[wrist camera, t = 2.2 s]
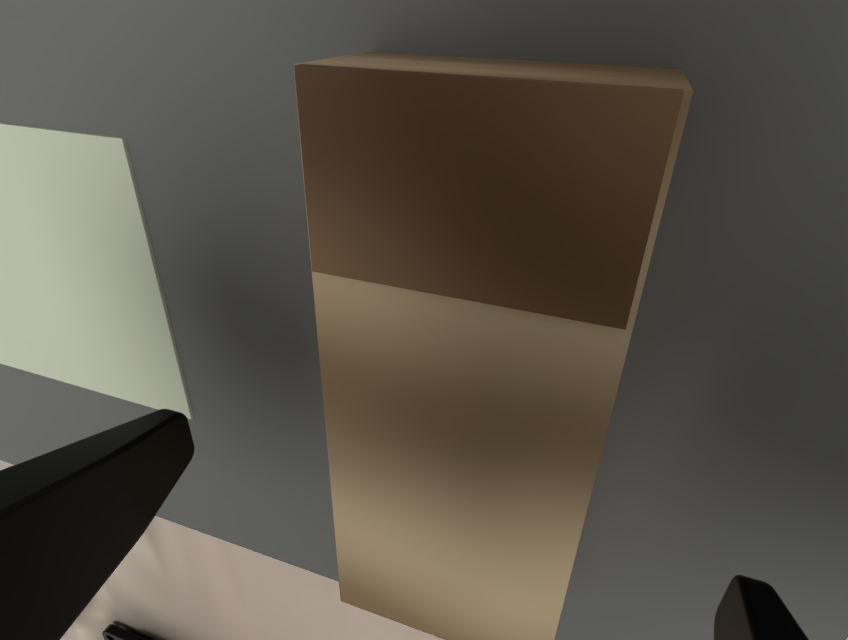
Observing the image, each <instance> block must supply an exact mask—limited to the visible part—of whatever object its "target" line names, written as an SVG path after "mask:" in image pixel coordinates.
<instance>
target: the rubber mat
mask: <svg viewBox="0 0 848 640" xmlns="http://www.w3.org/2000/svg"><path fill="white" fill-rule="evenodd" d="M365 52H386V53H404V54H422V55H439V56H457V57H475V58H492V59H510V60H528V61H545V62H563V63H581V64H599V65H616V66H634V67H652V68H669V69H682V70H683V72H684V74H685V76H686V78H687V79H688V81H689V83H690V85H691V87H692V89H693V94H692V98H691V102H690V106H689V109H688V113H687V117H686V121H685V125H684V129H683V133H682V137H681V141H680V145H679V149H678V153H677V157H676V161H675V165H674V169H673V173H672V177H671V181H670V185H669V188H668V192H667V196H666V200H665V204H664V208H663V212H662V216H661V220H660V224H659V228H658V232H657V236H656V240H655V244H654V248H653V252H652V256H651V260H650V264H649V267H648V271H647V275H646V279H645V283H644V287H643V291H642V295H641V299H640V303H639V307H638V311H637V315H636V319H635V323H634V327H633V331H632V335H631V339H630V343H629V346H628V350H627V354H626V358H625V362H624V366H623V370H622V374H621V378H620V382H619V386H618V390H617V394H616V398H615V402H614V406H613V410H612V414H611V418H610V422H609V425H608V429H607V433H606V437H605V441H604V445H603V449H602V453H601V457H600V461H599V465H598V469H597V473H596V477H595V481H594V485H593V489H592V493H591V497H590V501H589V504H588V508H587V512H586V516H585V520H584V524H583V528H582V532H581V536H580V540H579V544H578V548H577V552H576V556H575V560H574V564H573V568H572V572H571V576H570V580H569V583H568V587H567V591H566V595H565V599H564V603H563V607H562V611H561V615H560V619H559V623H558V627H557V631H556V635H555V639H554V640H714V620H715V614H716V610H717V608H718V606H719V604H720V602H721V600H722V598H723V596H724V594H725V592H726V590H727V588H728V586H729V584H730V582H731V580H732V578H733V577H734V576H736V575H743V576H747V577H750V578H754V579H757V580H761V581H764V582H766V583H768V584H770V585H771V586H772V587H773V588H774V589H775V591H776V592H777V594H778V595H779V596H780V598H781V599H782V601H783V602H784V604H785V605H786V607H787V608H788V610H789V611H790V613H791V614H792V615H793V617H794V618H795V620H796V621H797V623H798V624H799V626H800V627H801V629H802V630H803V631H804V633H805V634H806V636H807V637H808V639H809V640H846V639H847V637H848V0H0V460H3V461H6V462H8V463H11V464H14V465H16V464H19V463H21V462H24V461H27V460H29V459H32V458H34V457H37V456H40V455H42V454H45V453H47V452H50V451H53V450H55V449H58V448H61V447H63V446H66V445H68V444H71V443H74V442H76V441H79V440H81V439H84V438H87V437H89V436H92V435H95V434H97V433H100V432H102V431H105V430H108V429H110V428H113V427H115V426H118V425H121V424H123V423H126V422H129V421H131V420H134V419H136V418H139V417H142V416H144V415H147V414H149V413H152V412H155V411H157V410H160V409H170V410H174V411H177V412H180V413H183V414H184V415H185V416H186V417H187V419H188V422H189V426H190V430H191V434H192V438H193V442H194V447H195V448H194V455H193V457H192V460H191V461H190V463H189V465H188V466H187V468H186V469H185V471H184V472H183V474H182V475H181V477H180V478H179V480H178V481H177V483H176V485H175V486H174V488H173V489H172V491H171V492H170V494H169V495H168V497H167V498H166V500H165V501H164V503H163V504H162V506H161V508H160V509H159V511H158V512H157V514H156V515H155V516H158V517H161V518H164V519H167V520H169V521H172V522H175V523H178V524H180V525H183V526H186V527H189V528H192V529H194V530H197V531H200V532H203V533H205V534H208V535H211V536H214V537H217V538H219V539H222V540H225V541H228V542H230V543H233V544H236V545H239V546H242V547H244V548H247V549H250V550H253V551H255V552H258V553H261V554H264V555H267V556H269V557H272V558H275V559H278V560H280V561H283V562H286V563H289V564H292V565H294V566H297V567H300V568H303V569H305V570H308V571H311V572H314V573H317V574H319V575H322V576H325V577H328V578H330V579H333V580H336V581H339V575H338V564H337V552H336V541H335V530H334V518H333V507H332V496H331V484H330V473H329V462H328V450H327V439H326V428H325V416H324V405H323V394H322V382H321V371H320V360H319V348H318V337H317V326H316V314H315V303H314V292H313V280H312V269H311V258H310V246H309V235H308V224H307V212H306V201H305V190H304V178H303V167H302V156H301V144H300V133H299V122H298V110H297V99H296V88H295V76H294V65H293V64H296V63H303V62H309V61H315V60H321V59H328V58H334V57H340V56H346V55H353V54H359V53H365Z"/></svg>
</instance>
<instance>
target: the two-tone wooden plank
mask: <svg viewBox="0 0 848 640" xmlns="http://www.w3.org/2000/svg"><path fill="white" fill-rule="evenodd" d="M293 65H294V76H295V88H296V99H297V110H298V122H299V133H300V144H301V156H302V167H303V178H304V190H305V201H306V212H307V224H308V235H309V246H310V258H311V269H312V280H313V292H314V303H315V314H316V326H317V337H318V348H319V360H320V371H321V382H322V394H323V405H324V416H325V428H326V439H327V450H328V462H329V473H330V484H331V496H332V507H333V518H334V530H335V541H336V552H337V564H338V575H339V586H340V598H341V601H342V602H345V603H348V604H350V605H353V606H356V607H358V608H361V609H364V610H367V611H369V612H372V613H375V614H377V615H380V616H383V617H385V618H388V619H391V620H394V621H396V622H399V623H402V624H404V625H407V626H410V627H412V628H415V629H418V630H421V631H423V632H426V633H429V634H431V635H434V636H437V637H439V638H442V639H445V640H554V639H555V635H556V631H557V627H558V623H559V619H560V615H561V611H562V607H563V603H564V599H565V595H566V591H567V587H568V583H569V580H570V576H571V572H572V568H573V564H574V560H575V556H576V552H577V548H578V544H579V540H580V536H581V532H582V528H583V524H584V520H585V516H586V512H587V508H588V504H589V501H590V497H591V493H592V489H593V485H594V481H595V477H596V473H597V469H598V465H599V461H600V457H601V453H602V449H603V445H604V441H605V437H606V433H607V429H608V425H609V422H610V418H611V414H612V410H613V406H614V402H615V398H616V394H617V390H618V386H619V382H620V378H621V374H622V370H623V366H624V362H625V358H626V354H627V350H628V346H629V343H630V339H631V335H632V331H633V327H634V323H635V319H636V315H637V311H638V307H639V303H640V299H641V295H642V291H643V287H644V283H645V279H646V275H647V271H648V267H649V264H650V260H651V256H652V252H653V248H654V244H655V240H656V236H657V232H658V228H659V224H660V220H661V216H662V212H663V208H664V204H665V200H666V196H667V192H668V188H669V185H670V181H671V177H672V173H673V169H674V165H675V161H676V157H677V153H678V149H679V145H680V141H681V137H682V133H683V129H684V125H685V121H686V117H687V113H688V109H689V106H690V102H691V98H692V94H693V89H692V87H691V85H690V83H689V81H688V79H687V78H686V76H685V74H684V72H683V70H682V69H669V68H652V67H634V66H616V65H599V64H581V63H563V62H545V61H528V60H510V59H492V58H475V57H457V56H439V55H422V54H404V53H386V52H365V53H359V54H353V55H346V56H340V57H334V58H328V59H321V60H315V61H309V62H303V63H296V64H293Z"/></svg>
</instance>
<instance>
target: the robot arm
mask: <svg viewBox="0 0 848 640" xmlns="http://www.w3.org/2000/svg"><path fill="white" fill-rule="evenodd" d="M194 448H195V447H194V442H193V438H192V434H191V430H190V426H189V422H188V419H187V417H186V416H185V415H184V414H183V413H180V412H177V411H174V410H170V409H160V410H157V411H155V412H152V413H149V414H147V415H144V416H142V417H139V418H136V419H134V420H131V421H129V422H126V423H123V424H121V425H118V426H115V427H113V428H110V429H108V430H105V431H102V432H100V433H97V434H95V435H92V436H89V437H87V438H84V439H81V440H79V441H76V442H74V443H71V444H68V445H66V446H63V447H61V448H58V449H55V450H53V451H50V452H47V453H45V454H42V455H40V456H37V457H34V458H32V459H29V460H27V461H24V462H21V463H19V464H16V465H14V466H11V467H8V468H6V469H3V470H0V640H60V639H61V637H62V636H63V635H64V634H65V632H66V631H67V630H68V629H69V627H70V626H71V625H72V623H73V622H74V621H75V620H76V618H77V617H78V616H79V615H80V613H81V612H82V611H83V610H84V608H85V607H86V606H87V604H88V603H89V602H90V601H91V599H92V598H93V597H94V596H95V594H96V593H97V592H98V591H99V589H100V588H101V587H102V585H103V584H104V583H105V582H106V580H107V579H108V578H109V577H110V575H111V574H112V573H113V572H114V570H115V569H116V568H117V566H118V565H119V564H120V563H121V561H122V560H123V559H124V558H125V556H126V555H127V554H128V553H129V551H130V550H131V549H132V547H133V546H134V545H135V544H136V542H137V541H138V540H139V538H140V537H141V536H142V534H143V533H144V532H145V530H146V529H147V527H148V526H149V524H150V523H151V521H152V520H153V518H154V517H155V515H156V514H157V512H158V511H159V509H160V508H161V506H162V504H163V503H164V501H165V500H166V498H167V497H168V495H169V494H170V492H171V491H172V489H173V488H174V486H175V485H176V483H177V481H178V480H179V478H180V477H181V475H182V474H183V472H184V471H185V469H186V468H187V466H188V465H189V463H190V461H191V460H192V457H193V455H194ZM102 634H103V637H104V639H105V640H147V639H144V638H142V637H140V636H138V635H135V634H133V633H131V632H129V631H126V630H124V629H122V628H119V627H117V626H115V625H112V624H110V625H109V626H108V627H107V628H106V629H105V630H104V631H103V633H102ZM714 640H809V639H808V637H807V636H806V634H805V633H804V631H803V630H802V629H801V627H800V626H799V624H798V623H797V621H796V620H795V618H794V617H793V615H792V614H791V613H790V611H789V610H788V608H787V607H786V605H785V604H784V602H783V601H782V599H781V598H780V596H779V595H778V594H777V592H776V591H775V589H774V588H773V587H772V586H771V585H770V584H768V583H766V582H764V581H761V580H757V579H754V578H750V577H747V576H743V575H736V576H734V577H733V578H732V580H731V582H730V584H729V586H728V588H727V590H726V592H725V594H724V596H723V598H722V600H721V602H720V604H719V606H718V608H717V610H716V614H715V620H714Z"/></svg>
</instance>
